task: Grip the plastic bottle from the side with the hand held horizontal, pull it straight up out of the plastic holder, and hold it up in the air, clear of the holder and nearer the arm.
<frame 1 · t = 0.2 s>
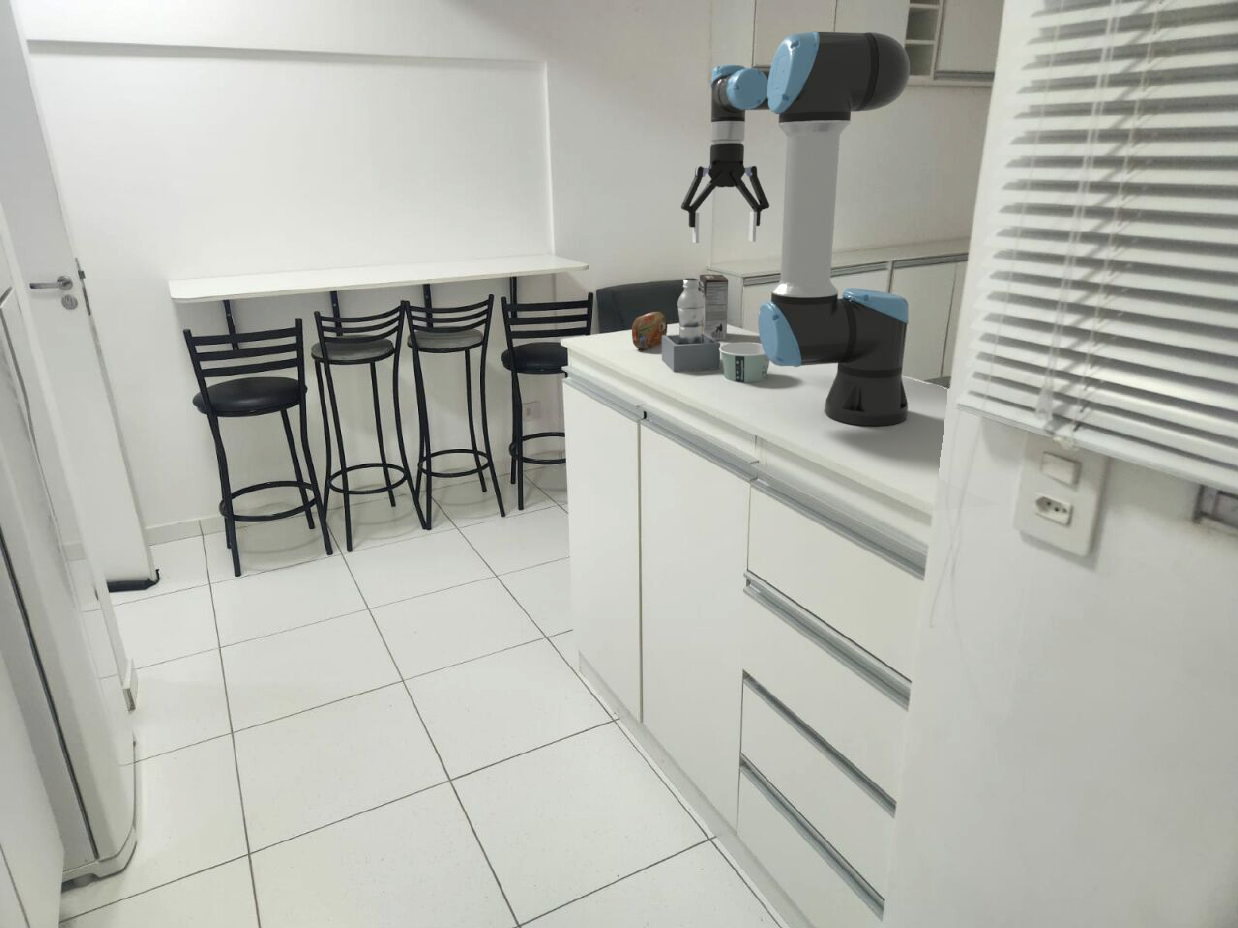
hand: (724, 242, 186), 28 cm above the counter, tool pointing down, fingers open, 13 cm apart
food container: (745, 377, 181), on the counter
bottle holder: (690, 364, 192), on the counter
tin: (649, 346, 211), on the counter
plastic bottle: (690, 365, 192), resting in bottle holder
coffee box: (712, 337, 220), on the counter
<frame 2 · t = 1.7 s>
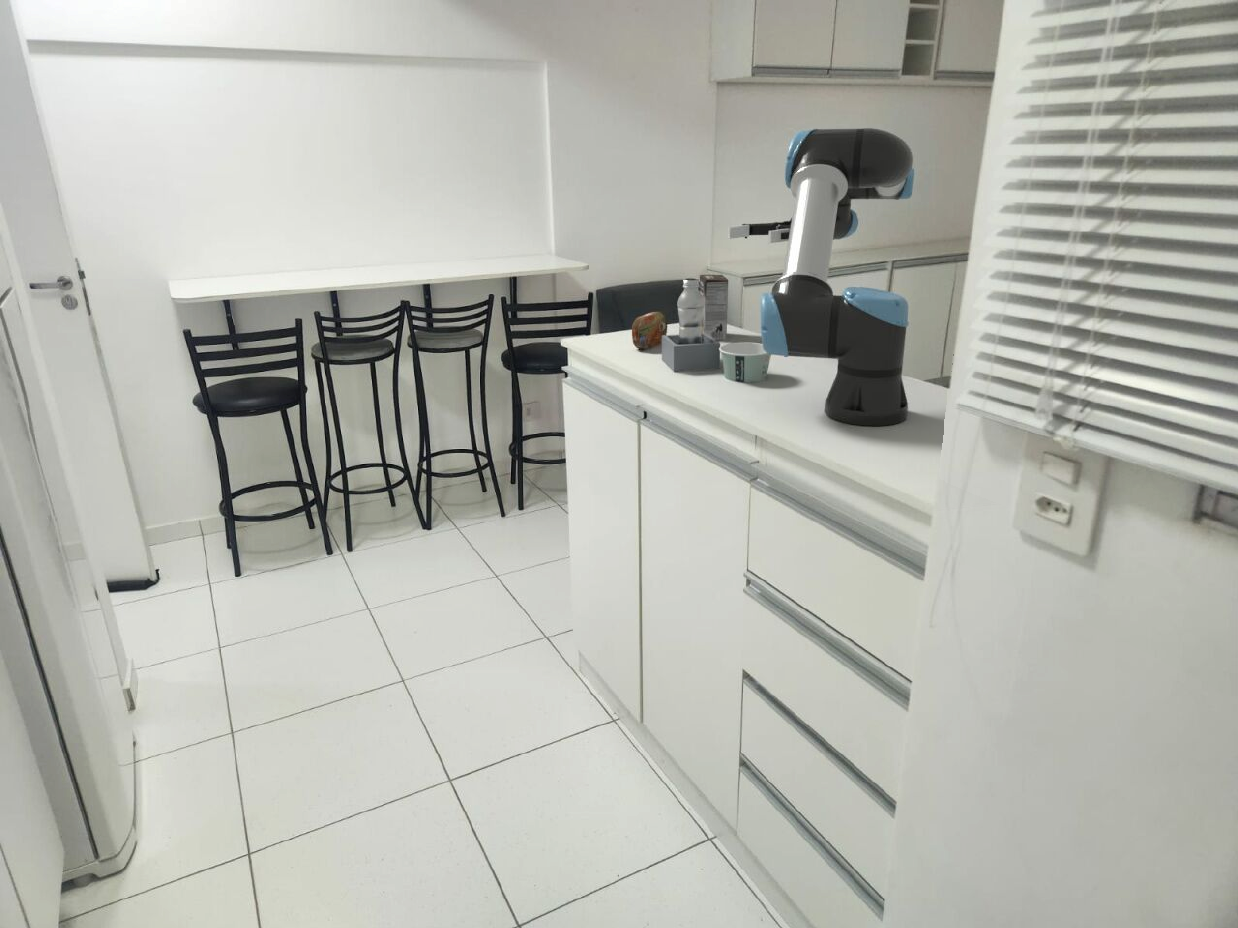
hand: (748, 235, 192), 28 cm above the counter, tool horizontal, fingers open, 13 cm apart
nothing on the counter moved.
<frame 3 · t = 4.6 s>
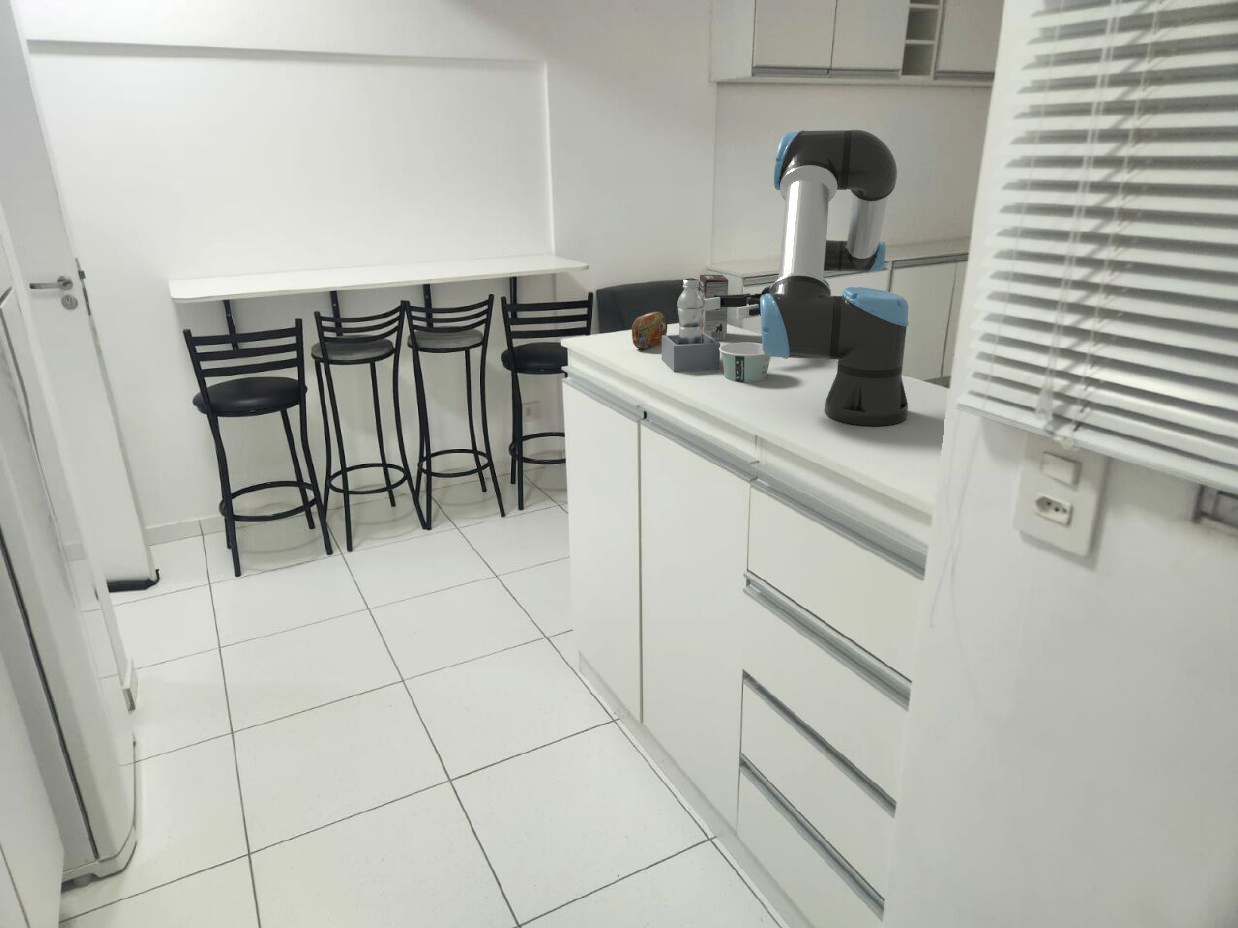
hand: (717, 309, 192), 12 cm above the counter, tool horizontal, fingers open, 13 cm apart
nothing on the counter moved.
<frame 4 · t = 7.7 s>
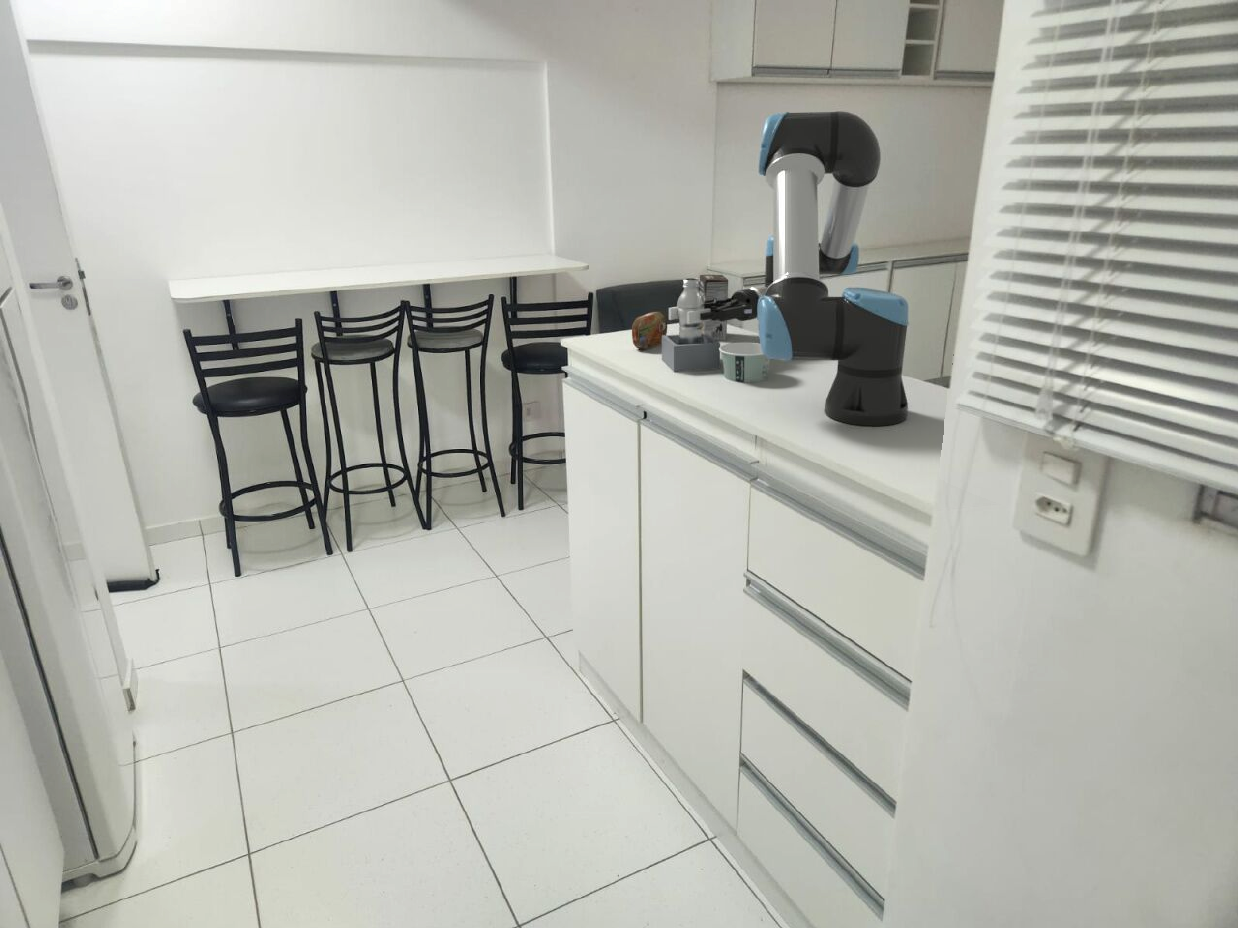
hand: (678, 316, 185), 12 cm above the counter, tool horizontal, fingers closed on plastic bottle, 6 cm apart
plastic bottle: (690, 365, 192), resting in bottle holder, touching gripper
everything else where it was.
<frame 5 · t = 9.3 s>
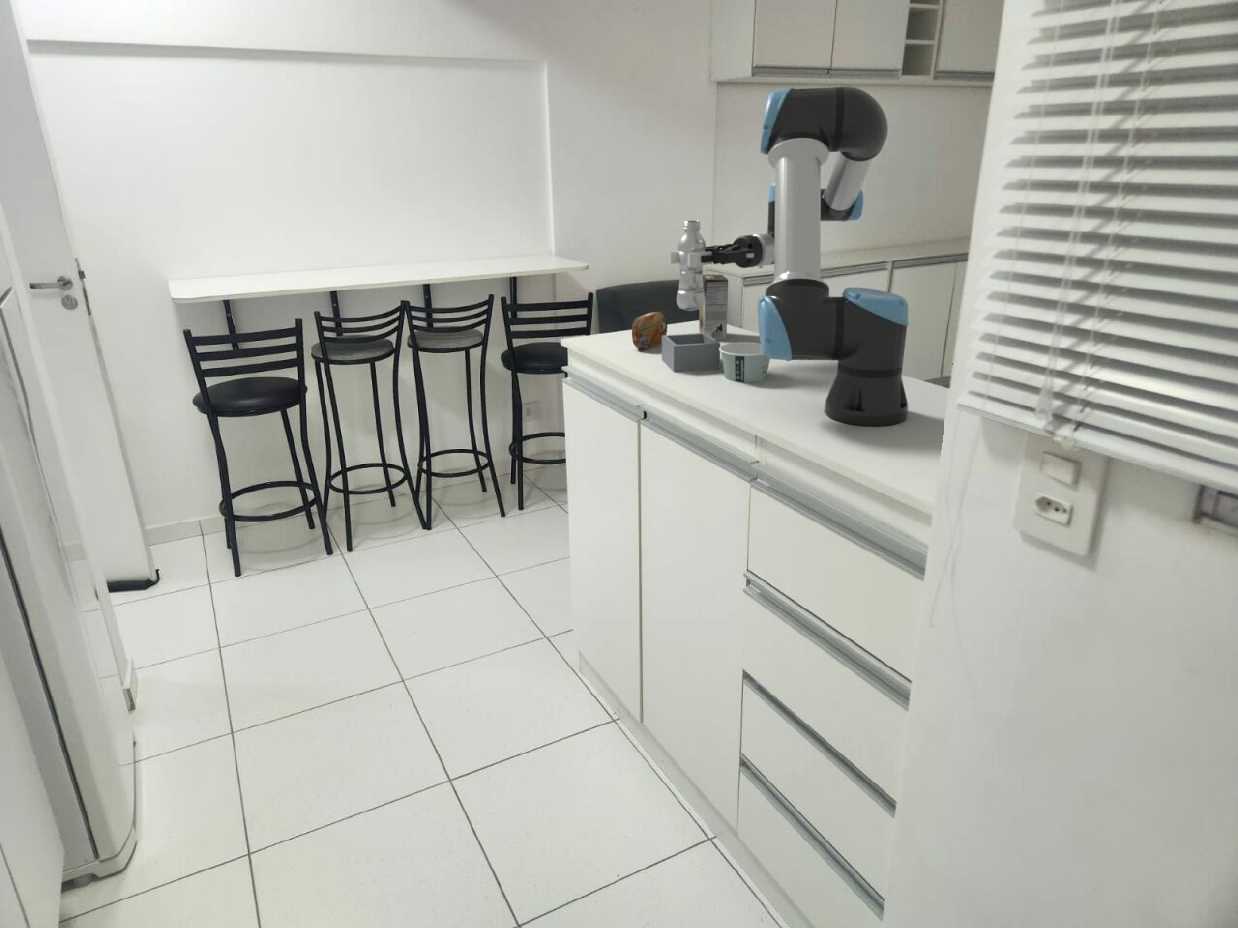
hand: (679, 259, 181), 25 cm above the counter, tool horizontal, fingers closed on plastic bottle, 6 cm apart
plastic bottle: (690, 311, 187), point 13 cm above the counter, touching gripper
everything else where it was.
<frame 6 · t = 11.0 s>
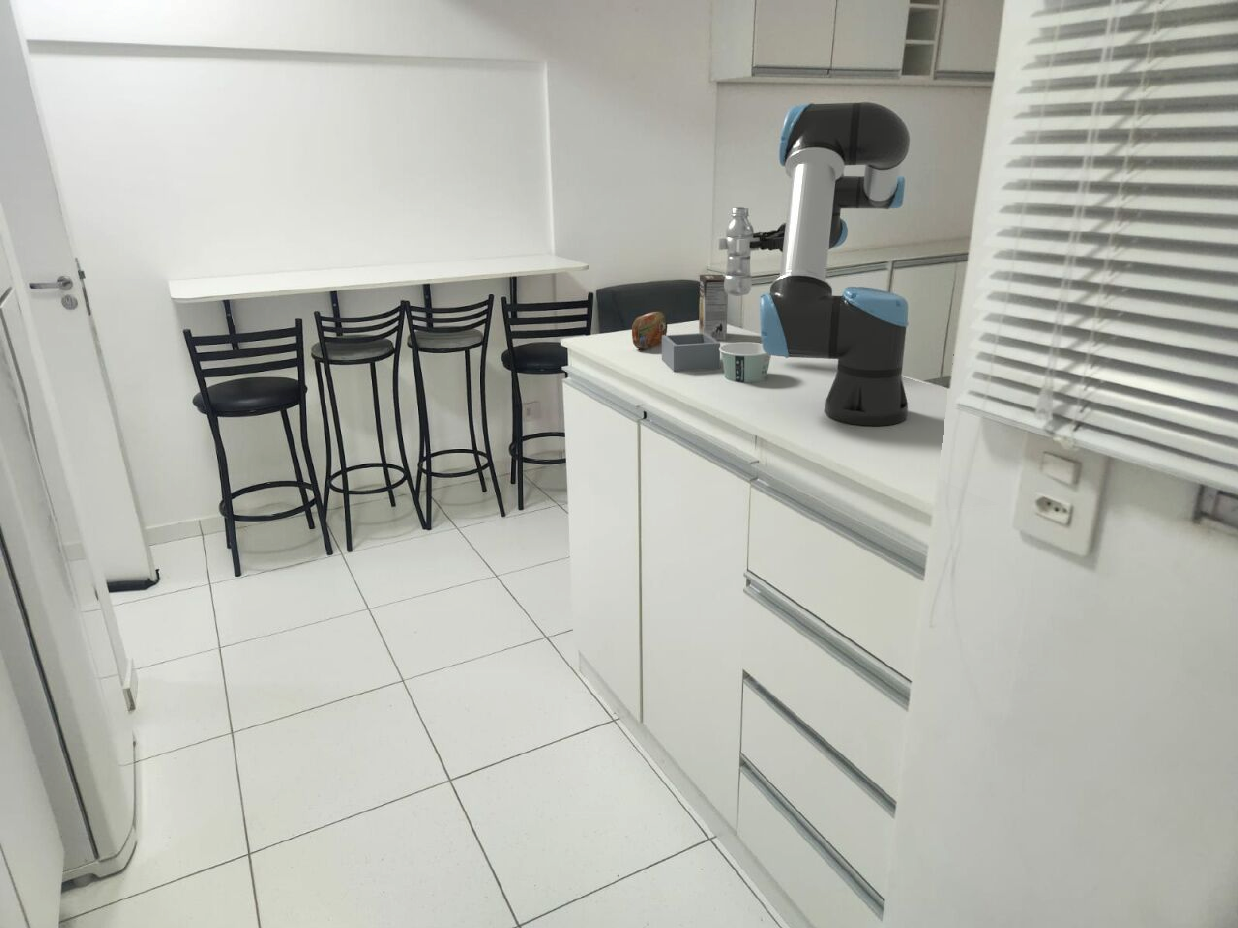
hand: (728, 245, 186), 27 cm above the counter, tool horizontal, fingers closed on plastic bottle, 6 cm apart
plastic bottle: (737, 296, 192), point 15 cm above the counter, touching gripper
everything else where it was.
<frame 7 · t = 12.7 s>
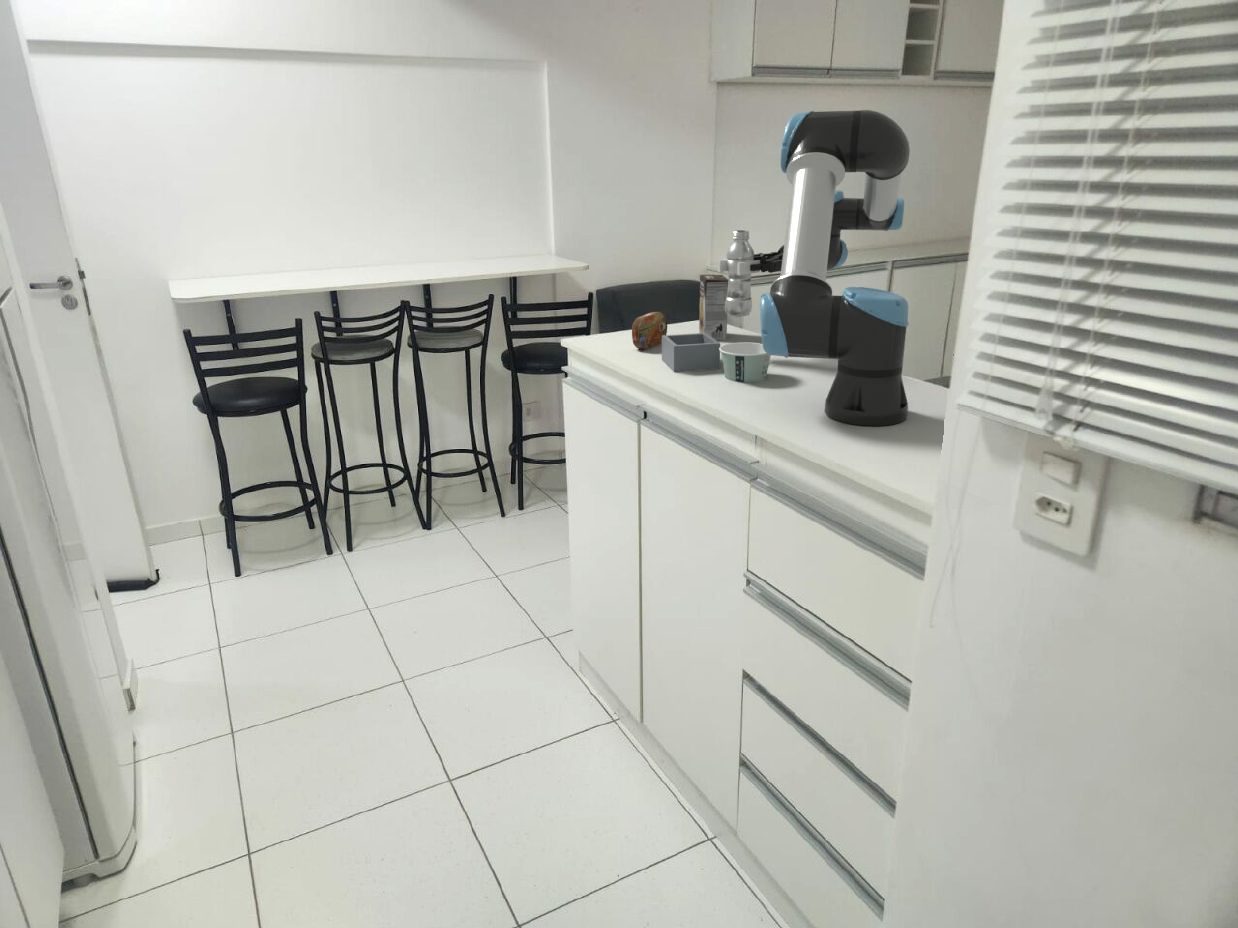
hand: (728, 267, 188), 22 cm above the counter, tool horizontal, fingers closed on plastic bottle, 6 cm apart
plastic bottle: (738, 317, 194), point 10 cm above the counter, touching gripper
everything else where it was.
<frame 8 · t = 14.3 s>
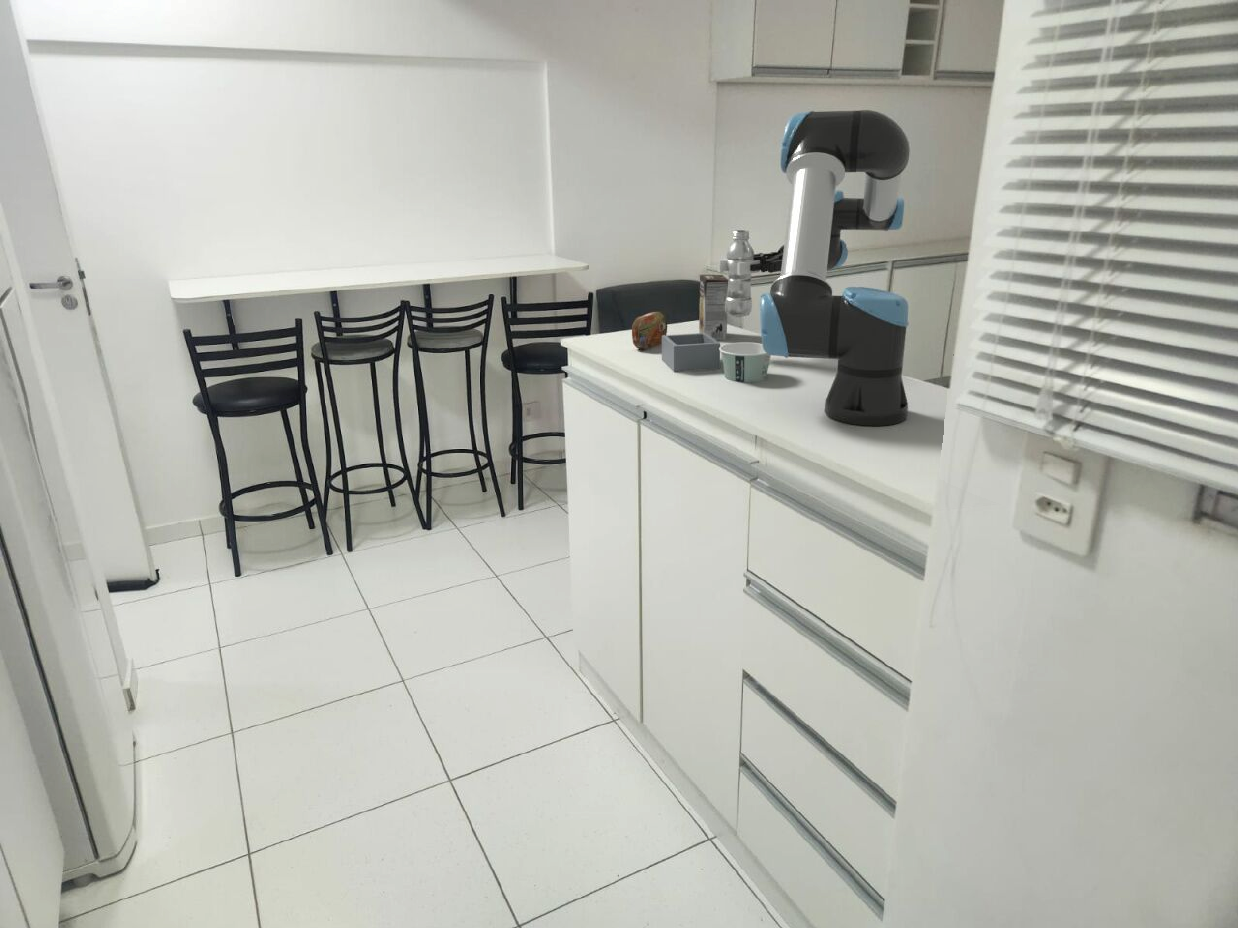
hand: (728, 267, 188), 22 cm above the counter, tool horizontal, fingers closed on plastic bottle, 6 cm apart
plastic bottle: (738, 317, 194), point 10 cm above the counter, touching gripper
everything else where it was.
at the end: the gripper is holding plastic bottle; plastic bottle inside the target area (1.8 cm from its centre), point 9.7 cm above the counter; plastic bottle tilted 0° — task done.
